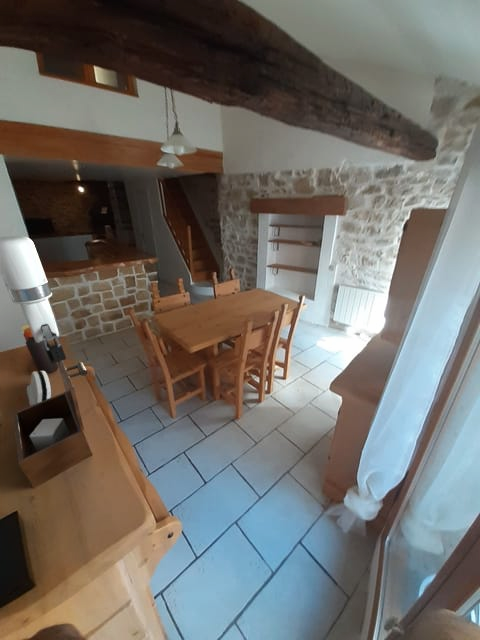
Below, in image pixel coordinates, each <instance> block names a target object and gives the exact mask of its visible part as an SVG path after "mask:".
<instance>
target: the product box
mask: <svg viewBox="0 0 480 640" xmlns="http://www.w3.org/2000/svg"><path fill="white" fill-rule="evenodd" d="M69 436H70V433H69V431H68V428H67V426H66V424H65V422H64V419H63V418H58V419H43V420H42V421H41V422H40V424H39V425H38V426H37V427H36V428H35V430H34V431H33V432H32V434H31V435H30V436H29V437H30V439H31V441H32V443H33V444H34V446H35V448H36V450H37V452H39V451H41V450H43V449H45V448H47V447H49V446H51V445H53V444H55V443H57V442H59V441H61V440H63V439H65V438H67V437H69Z"/></svg>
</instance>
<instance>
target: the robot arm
mask: <svg viewBox="0 0 480 640" xmlns="http://www.w3.org/2000/svg"><path fill="white" fill-rule="evenodd" d="M0 276H1V279H2V281H3V283H4V285H5V288H6V290H7V292H8V294H9V296H10V298H11V301H12V303H13V304H16V305H20V308H21V311H22V313H23V315H24V318H25V320H26V322H27V324H28V325H29V327H30V329H31V332H32V334H33V336H34V339H35V341H36V342H37V343H39V342H40V341H42V339H43V342H44V344H45V346H46V349H47V350H46V352H47V354H48V357H49V359H50V361H51V363H52V364H53V363H56V362H57V363H58V362H59V361H65V360H66V359H67V356H66V354H65V351H64V349H63V345H61V344H60V341H59V338H58V337H59V336H60V333H59V329H58V324H57V321H56V318H55V315H54V312H53V309H52V307H51V304H50V301H49V298H51V297H52V296H53V292H52V289H51V287H50V284H49V281H48V279H47V276H46V273H45V270H44V268H43V265H42V262H41V259H40V256H39V253H38V252H37V248H36V246H35V244H34V242H33V240H32V239H31V238H30V237H28V236H24V235H10V236H9V235H7V236H0Z"/></svg>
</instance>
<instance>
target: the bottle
mask: <svg viewBox="0 0 480 640" xmlns="http://www.w3.org/2000/svg"><path fill="white" fill-rule="evenodd" d="M24 334H25V336H26V337H27V338H28V339H27V341H26V340H25V345H26V348H27V350H28V352H29V354H30V356H31V359H32V360H33V363H34V365H35V367H36V369H37V372H38V373H39V372H40V371H45V372H46V373H47V375H49V374H50V375H51V374H52V373H54V372H56V371H57V370H58V369H59V365H58V362H56V363H53V364H52V363H51V361H50V359H49V357H48V354H47V352H46V350H47V349H46V346H45V344H44V342H43V339H42V341H40V342H39V343H37V342H36V341H35V339H34V336H33V334H32V332H31V329H30V327H29V328H27V329H25V330H24Z"/></svg>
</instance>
